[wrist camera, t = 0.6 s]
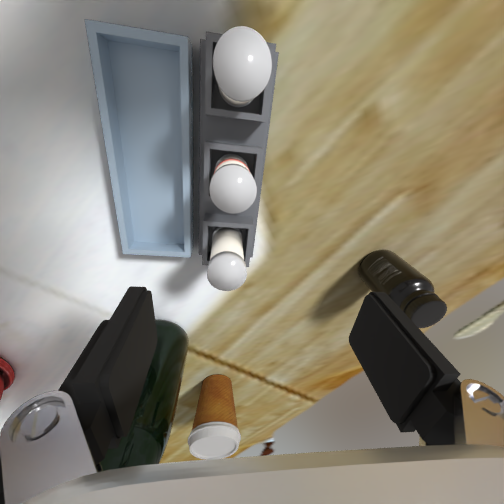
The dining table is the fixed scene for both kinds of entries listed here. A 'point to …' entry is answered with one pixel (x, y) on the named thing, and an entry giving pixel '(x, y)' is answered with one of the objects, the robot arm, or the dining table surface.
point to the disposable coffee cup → (215, 421)
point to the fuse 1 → (241, 65)
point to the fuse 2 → (226, 259)
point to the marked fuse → (232, 184)
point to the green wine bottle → (154, 403)
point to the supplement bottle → (403, 287)
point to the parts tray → (147, 134)
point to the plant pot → (5, 376)
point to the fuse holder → (230, 147)
